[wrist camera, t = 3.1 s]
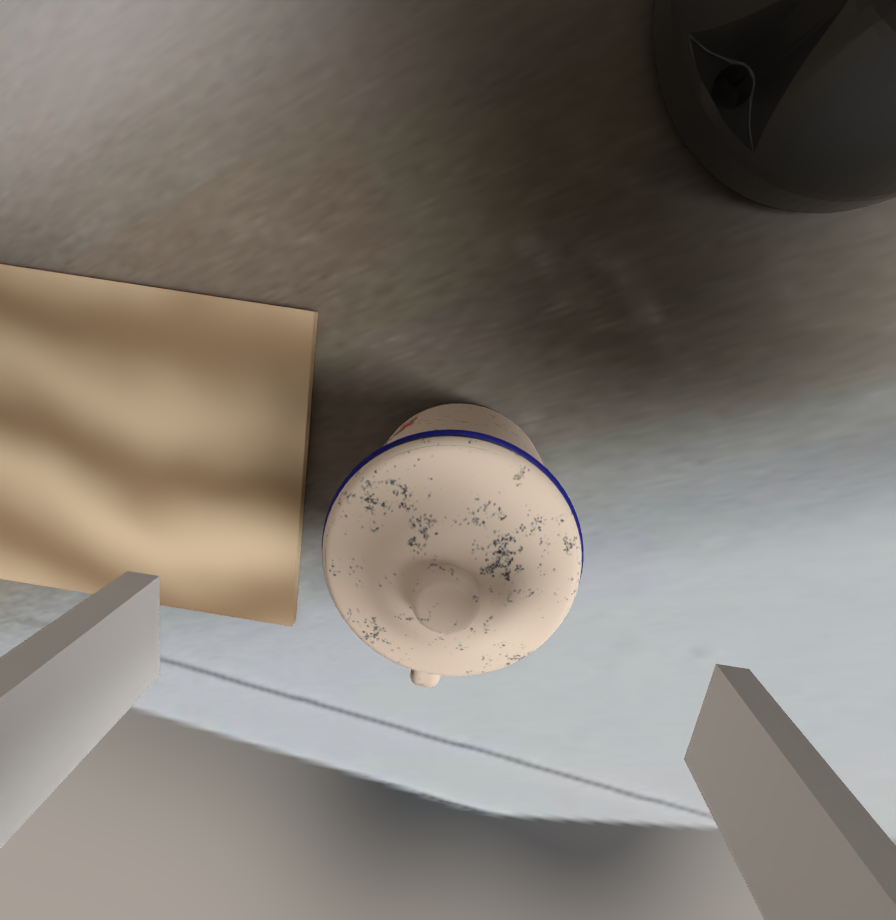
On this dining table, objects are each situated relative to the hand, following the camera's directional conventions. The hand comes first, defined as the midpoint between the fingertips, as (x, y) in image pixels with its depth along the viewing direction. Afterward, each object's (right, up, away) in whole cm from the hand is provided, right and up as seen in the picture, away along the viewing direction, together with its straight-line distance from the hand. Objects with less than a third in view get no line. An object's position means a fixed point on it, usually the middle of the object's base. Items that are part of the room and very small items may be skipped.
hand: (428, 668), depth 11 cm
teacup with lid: (+1, +2, +14) cm, 14 cm away
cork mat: (-17, +5, +14) cm, 23 cm away
